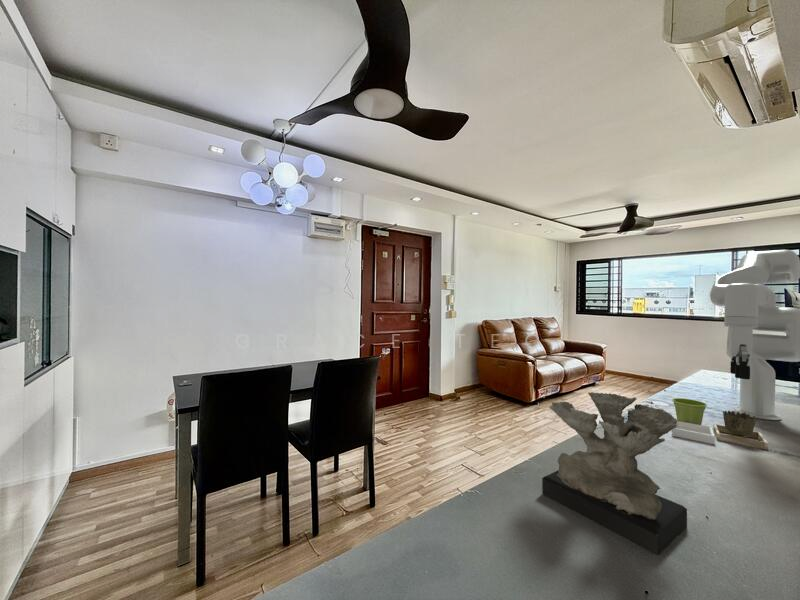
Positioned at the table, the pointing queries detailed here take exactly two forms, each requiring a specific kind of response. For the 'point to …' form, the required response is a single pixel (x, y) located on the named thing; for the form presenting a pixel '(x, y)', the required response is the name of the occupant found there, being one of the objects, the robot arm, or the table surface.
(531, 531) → the table surface
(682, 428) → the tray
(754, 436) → the birch frame
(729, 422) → the cup
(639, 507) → the coral
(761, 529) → the table surface
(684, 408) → the plant pot
